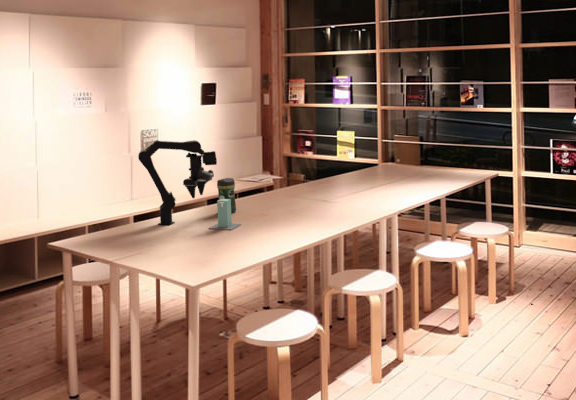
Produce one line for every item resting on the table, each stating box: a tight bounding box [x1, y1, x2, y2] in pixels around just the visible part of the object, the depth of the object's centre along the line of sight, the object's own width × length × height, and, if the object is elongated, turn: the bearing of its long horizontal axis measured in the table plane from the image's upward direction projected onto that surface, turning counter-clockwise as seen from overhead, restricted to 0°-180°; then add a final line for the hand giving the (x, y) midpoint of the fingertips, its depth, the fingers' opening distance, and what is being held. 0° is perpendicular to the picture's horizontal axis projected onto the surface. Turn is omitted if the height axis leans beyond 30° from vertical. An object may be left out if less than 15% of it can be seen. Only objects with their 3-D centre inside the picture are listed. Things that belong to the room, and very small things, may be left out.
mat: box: [208, 223, 242, 231], centre depth 343 cm, size 12×12×1 cm
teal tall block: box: [216, 199, 233, 227], centre depth 342 cm, size 5×5×13 cm
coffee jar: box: [216, 177, 237, 214], centre depth 377 cm, size 10×8×19 cm
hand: (197, 196), depth 354 cm, fingers open, 9 cm apart
